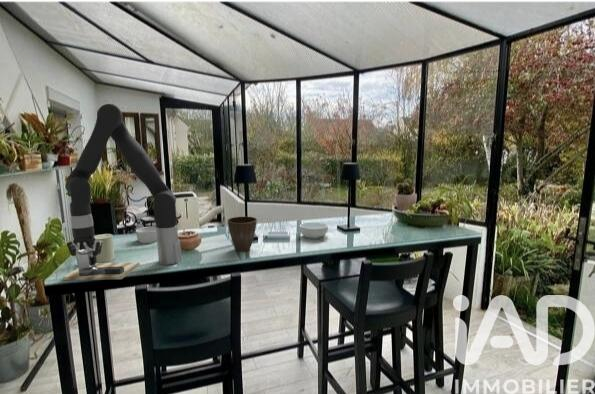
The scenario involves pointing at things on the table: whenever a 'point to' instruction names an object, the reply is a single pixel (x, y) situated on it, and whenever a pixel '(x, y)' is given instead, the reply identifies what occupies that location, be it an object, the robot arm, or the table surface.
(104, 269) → the ratchet
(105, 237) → the cream cylinder
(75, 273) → the board
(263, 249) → the table surface
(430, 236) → the table surface
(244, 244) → the plant pot
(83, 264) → the grey pocketed block
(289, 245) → the table surface
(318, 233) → the cereal bowl
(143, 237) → the ramekin
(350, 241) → the table surface
